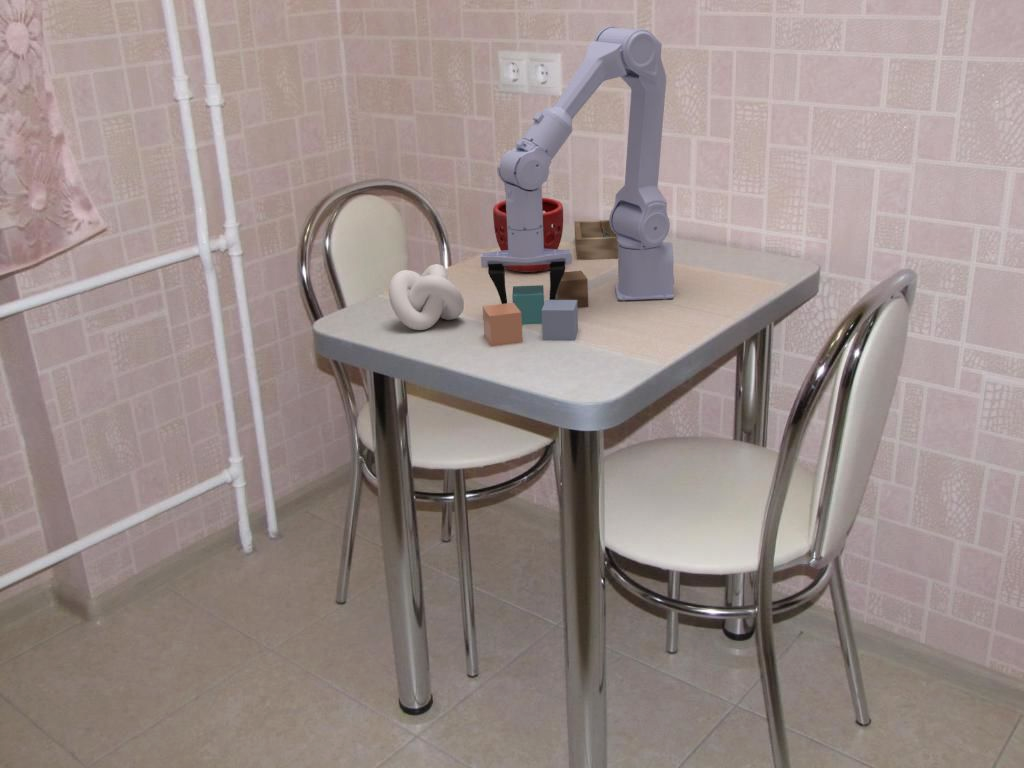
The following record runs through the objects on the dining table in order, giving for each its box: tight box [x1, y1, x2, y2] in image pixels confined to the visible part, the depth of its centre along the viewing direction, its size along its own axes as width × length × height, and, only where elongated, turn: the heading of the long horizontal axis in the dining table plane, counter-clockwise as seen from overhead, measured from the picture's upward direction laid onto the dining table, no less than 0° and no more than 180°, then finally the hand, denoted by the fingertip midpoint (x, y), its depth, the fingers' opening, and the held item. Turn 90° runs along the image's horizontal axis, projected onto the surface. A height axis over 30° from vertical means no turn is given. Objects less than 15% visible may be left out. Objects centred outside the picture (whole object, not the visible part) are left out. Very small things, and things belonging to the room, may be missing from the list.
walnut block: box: [555, 270, 589, 309], centre depth 180 cm, size 5×5×5 cm
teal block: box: [511, 284, 545, 325], centre depth 174 cm, size 5×5×5 cm
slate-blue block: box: [541, 299, 579, 341], centre depth 166 cm, size 5×5×5 cm
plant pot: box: [492, 197, 564, 273], centre depth 200 cm, size 13×13×12 cm
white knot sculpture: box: [388, 263, 465, 331], centre depth 173 cm, size 11×12×9 cm
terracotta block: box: [482, 302, 524, 347], centre depth 165 cm, size 5×5×5 cm
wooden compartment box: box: [574, 219, 618, 260], centre depth 210 cm, size 14×14×4 cm
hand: (528, 307), depth 174 cm, fingers open, 7 cm apart
